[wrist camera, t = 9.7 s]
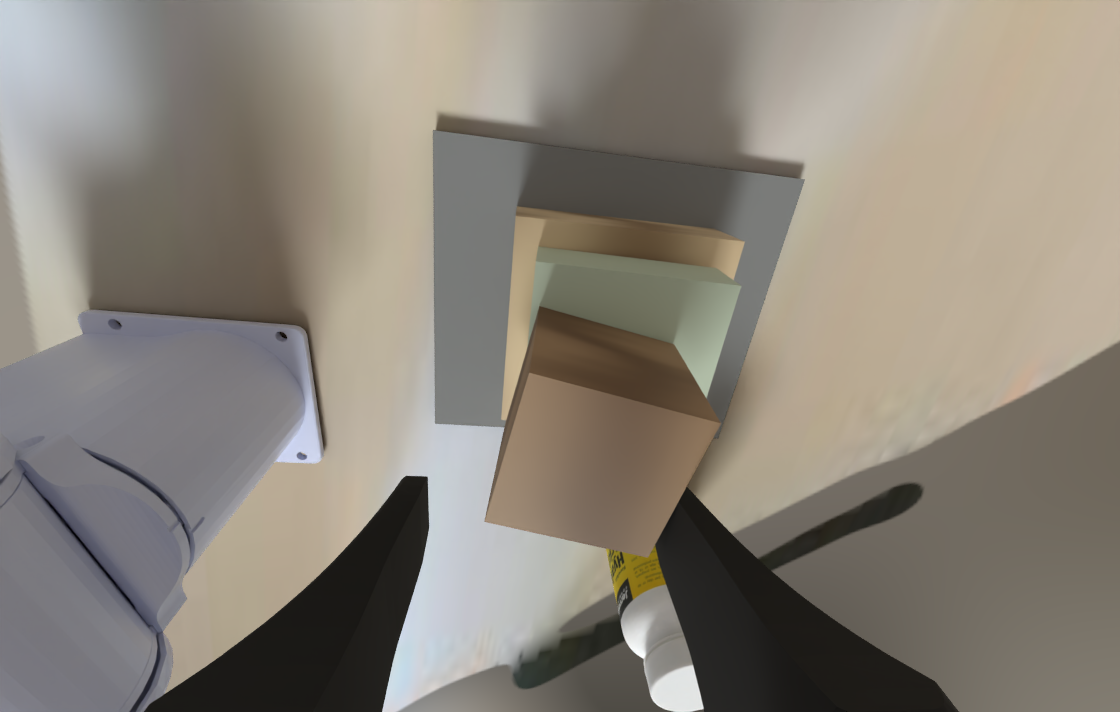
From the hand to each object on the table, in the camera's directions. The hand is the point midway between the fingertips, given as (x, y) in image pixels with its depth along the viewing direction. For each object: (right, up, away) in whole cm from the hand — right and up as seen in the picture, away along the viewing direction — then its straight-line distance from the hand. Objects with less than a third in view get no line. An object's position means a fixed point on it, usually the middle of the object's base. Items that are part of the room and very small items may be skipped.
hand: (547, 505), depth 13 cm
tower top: (+3, +5, +5) cm, 8 cm away
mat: (+2, +7, +8) cm, 11 cm away
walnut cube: (+1, +3, +3) cm, 5 cm away
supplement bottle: (+6, -6, +15) cm, 17 cm away
